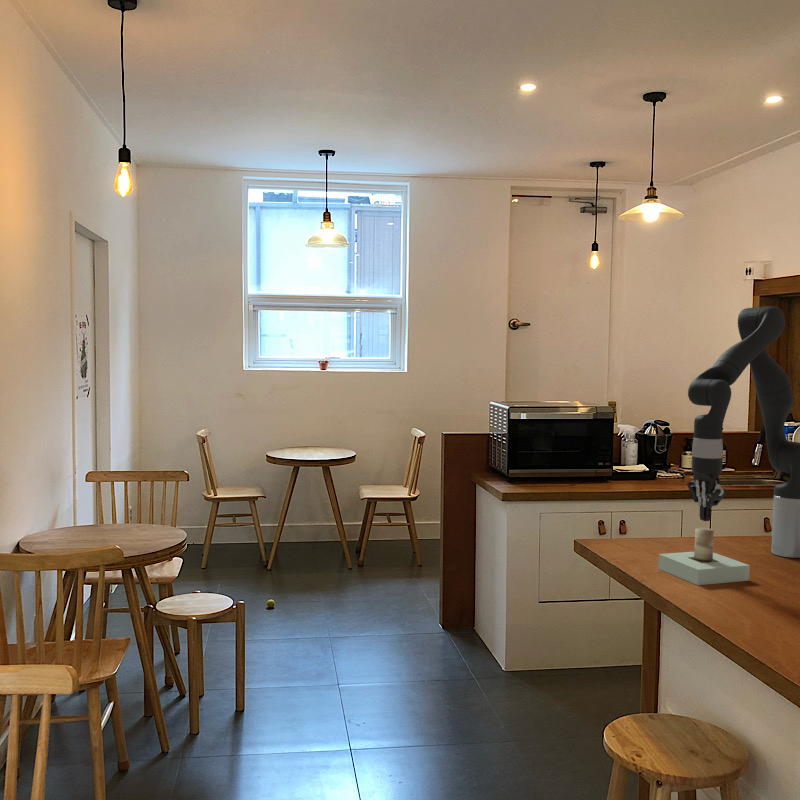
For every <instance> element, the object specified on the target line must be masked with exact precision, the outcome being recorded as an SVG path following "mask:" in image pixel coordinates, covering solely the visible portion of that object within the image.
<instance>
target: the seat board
mask: <svg viewBox="0 0 800 800" xmlns="http://www.w3.org/2000/svg"><path fill="white" fill-rule="evenodd" d="M750 567H751V565H749V564H748V563H744V562H742V561H739V560H736V559H733V558H730V557H728V556H724V555H722V554H719V553H716V552H714V551H713V561H712V562H709V563H700V562H697V561H695V560H694V551H683V552H672V553H671V552H668V553H659V554H658V567H657V568H658V569H659V570H661V571H663V572H665V573H667V574H670V575H672V576H674V577H676V578H678V579H679V578H680V579H682V580H683V581H686V582H689V583H691V584H694V585H696V586H703V585H705V586H706V585H716V584H726V583H727V584H728V583H738V582H746V581H747V582H748V581H750V572H751V571H750V570H751V568H750Z"/></svg>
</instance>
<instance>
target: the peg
mask: <svg viewBox="0 0 800 800" xmlns="http://www.w3.org/2000/svg"><path fill="white" fill-rule="evenodd" d="M714 533H715V530H714V529H712V528H709V527H708V528H707V527H696V528H695V529H694V550H693V552H694V560H695V561H697V562H700V563H709V562H712V561H713V552H714V537H715V535H714Z"/></svg>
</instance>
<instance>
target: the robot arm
mask: <svg viewBox="0 0 800 800" xmlns="http://www.w3.org/2000/svg"><path fill="white" fill-rule="evenodd" d="M785 317H786V316H785V314H784V312H783V310H782V309H781V308H780V307H777V306H772V305H771V306H770V305H767V306H757V307H746V308H743V309H742V310H741V311H739V313H738V316H737V329H738V333H739V336H740V341H739V342H736V343H735V344H733V345H732V346H730V347H729V348H727V349H726V350H725V351H724V352H723V353H722V354H721V355H720V356H719V357H718V358H717V359H716V361H715V362H714V364H713V365H712V366H711V367H709V368H707V369H706V370H705V371H703V372H702V373H700V374H699V375H697V376H696V377H695V378H694V379H693V380H692V381H691V383H690V384H689V386H688V389H687V397H688V399H689V401H690V402H691V403H692V404H693V405H696V406H704V407H705V406H707V407H710V409H709V411H708V413H707V414H706V413H705V414H699V415H697V416H695V418H694V421H693V422H694V423H693V440H692V441H693V442H692V445H691V446H692V447H691V448H692V449H691V472H692V473H693V474H694V475H693V480H691V481H688V482H687V484H686V485H687V488H688V490H689V492H690V495H691V496H692V500H693V501H694V503H697V504H698V506H699V520H700V521H703V522H710V521H711V519H712V508H713V507H716V506H718V505H719V503H720V502H721V500H723V498H724V496H725V494H726V493H727V488H723V487H722V486H721V480H720V475H721V474H723V461H724V460H723V459H724V458H723V457H724V445H723V433H724V432H723V430H724V429H723V427H724V420H725V419H726V418H725V417H726V413H727V410H728V408H729V405H730V401H731V399H732V389H731V386H732V385H733V384H735V383H736V381H737V380H738V378H739V377H740V376H741V375H742V374H743V372H744V371H745V369H746V368H747V367H748V366H750V370H751V374H752V378H753V383H754V388H755V389H754V390H755V392H756V397H757V401H758V405H759V407H760V411H761V417H762V421H763V426H764V432H765V439H766V449H767V455H768V460H769V463H770V465H771V467H772V468H773V470H775V471H777V472H781V473H787V474H790V478H789V480H788V481H787V482H783V483H779V484H776V485H775V486H774V489H773V506H772V507H773V509H772V526H771V528H772V529H771V554H773V555H775V556H780V557H785V558H792V559H793V558H795V559H796V558H798V559H799V558H800V442H797V441H790V440H789V441H788V439H787V437H786V430H785V424H786V421H787V419H788V416H789V414H790V412H791V410H792V408H793V405H794V394H793V390H792V389H793V388H792V384H791V380H790V378H789V375H788V374H787V373H786V372H785V370H784V369H783V368H782V367H781V366H780V365H779V364H778V363H777V362H776V361H775V360H774V359H773V358H772V357H771V355H770V354H769V353H768V351H767V348H768V347H769V346H770V345H771V344H772V343H774V342H775V341H776V340H777V339H778V338H779V337H780V336H781V334H782V333H783V331H784V330H785V326H786V319H785Z"/></svg>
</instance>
